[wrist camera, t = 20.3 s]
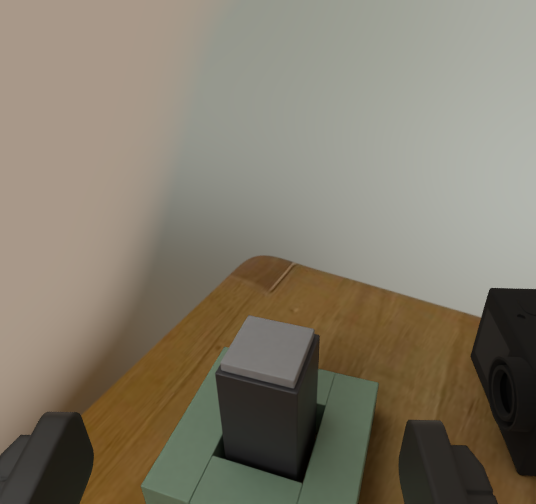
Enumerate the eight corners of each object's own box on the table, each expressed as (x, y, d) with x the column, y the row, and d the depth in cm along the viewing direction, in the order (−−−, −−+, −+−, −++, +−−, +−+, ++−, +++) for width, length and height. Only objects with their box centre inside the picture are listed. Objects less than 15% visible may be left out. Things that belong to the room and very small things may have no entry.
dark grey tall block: (227, 479, 29) (213, 364, 23) (253, 421, 32) (245, 311, 27) (296, 501, 27) (297, 386, 22) (315, 439, 31) (320, 326, 26)
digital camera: (454, 354, 37) (471, 285, 34) (523, 357, 37) (549, 287, 33) (498, 475, 28) (528, 398, 25) (590, 480, 28) (635, 403, 24)
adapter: (149, 515, 27) (140, 485, 25) (227, 374, 36) (224, 346, 34) (342, 586, 24) (346, 558, 22) (374, 411, 33) (379, 382, 31)
